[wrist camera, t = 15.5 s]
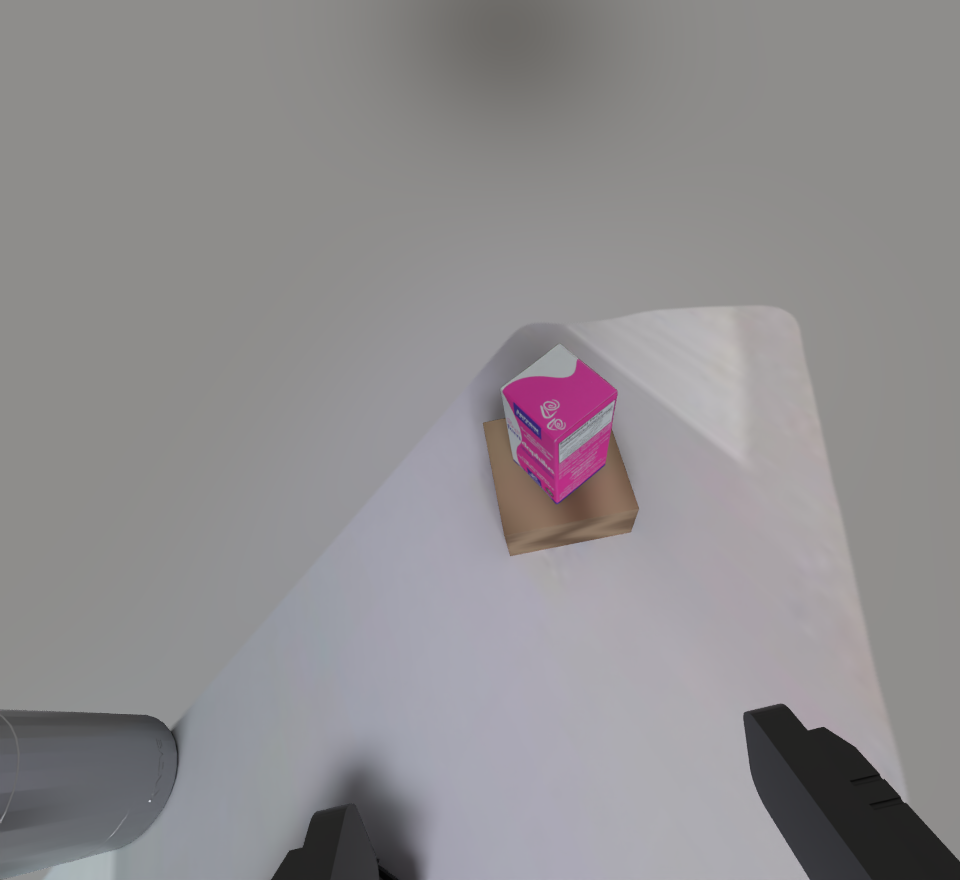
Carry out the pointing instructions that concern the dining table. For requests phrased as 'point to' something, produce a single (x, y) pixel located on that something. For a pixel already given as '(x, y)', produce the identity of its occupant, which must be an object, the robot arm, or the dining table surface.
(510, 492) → the walnut block
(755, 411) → the dining table surface
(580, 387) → the supplement box
